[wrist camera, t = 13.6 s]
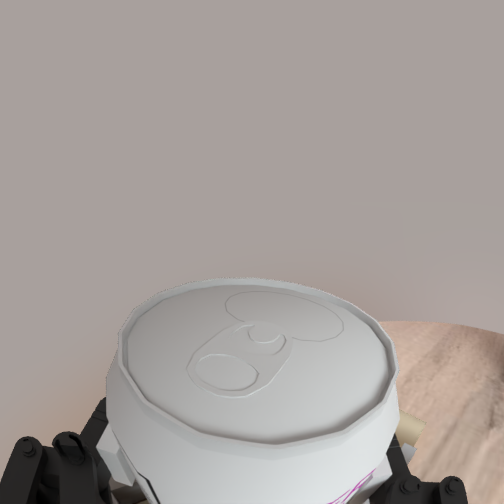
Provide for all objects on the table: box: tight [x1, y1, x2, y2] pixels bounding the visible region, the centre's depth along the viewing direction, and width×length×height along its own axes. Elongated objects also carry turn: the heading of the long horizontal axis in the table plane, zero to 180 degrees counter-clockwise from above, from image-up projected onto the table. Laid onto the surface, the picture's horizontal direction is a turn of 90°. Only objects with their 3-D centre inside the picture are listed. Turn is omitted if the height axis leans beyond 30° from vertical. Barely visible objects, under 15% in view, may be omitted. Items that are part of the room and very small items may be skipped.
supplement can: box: [106, 278, 400, 504], centre depth 9 cm, size 8×8×15 cm
